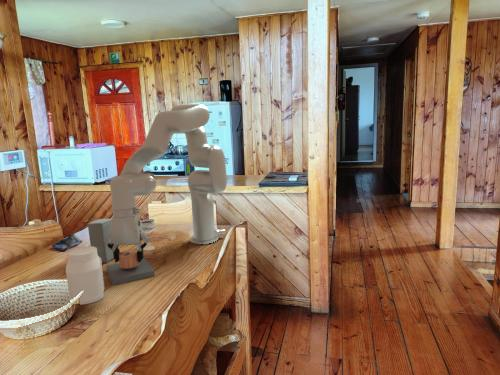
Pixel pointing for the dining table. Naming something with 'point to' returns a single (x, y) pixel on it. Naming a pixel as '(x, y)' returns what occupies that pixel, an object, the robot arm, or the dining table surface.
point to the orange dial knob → (128, 259)
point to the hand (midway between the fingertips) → (129, 260)
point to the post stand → (129, 272)
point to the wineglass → (148, 229)
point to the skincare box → (101, 238)
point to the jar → (85, 274)
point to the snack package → (67, 242)
